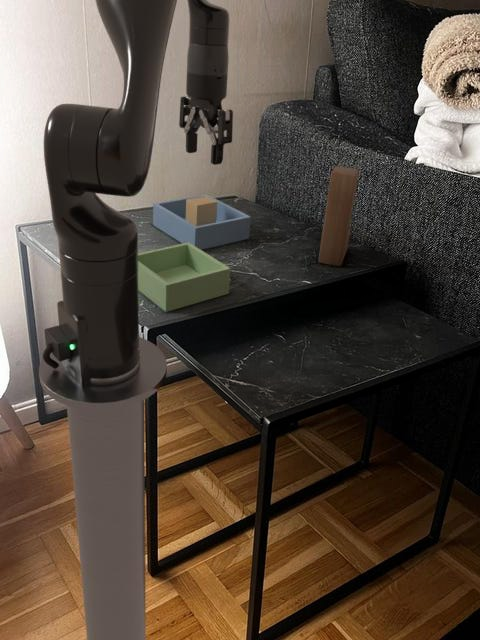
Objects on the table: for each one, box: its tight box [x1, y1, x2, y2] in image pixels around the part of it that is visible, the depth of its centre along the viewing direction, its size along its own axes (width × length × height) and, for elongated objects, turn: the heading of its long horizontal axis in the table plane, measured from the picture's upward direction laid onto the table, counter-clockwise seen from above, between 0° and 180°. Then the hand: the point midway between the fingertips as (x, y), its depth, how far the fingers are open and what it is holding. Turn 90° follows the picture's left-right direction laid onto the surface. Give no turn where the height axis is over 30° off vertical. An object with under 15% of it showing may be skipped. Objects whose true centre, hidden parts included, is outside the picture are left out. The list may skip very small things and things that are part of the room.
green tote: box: [138, 242, 231, 313], centre depth 104 cm, size 13×13×5 cm
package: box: [186, 196, 217, 226], centre depth 126 cm, size 5×4×6 cm
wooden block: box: [318, 165, 360, 267], centre depth 117 cm, size 9×4×18 cm, turn 163°
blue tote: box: [152, 193, 252, 251], centre depth 126 cm, size 14×16×5 cm
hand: (203, 158), depth 120 cm, fingers open, 8 cm apart
